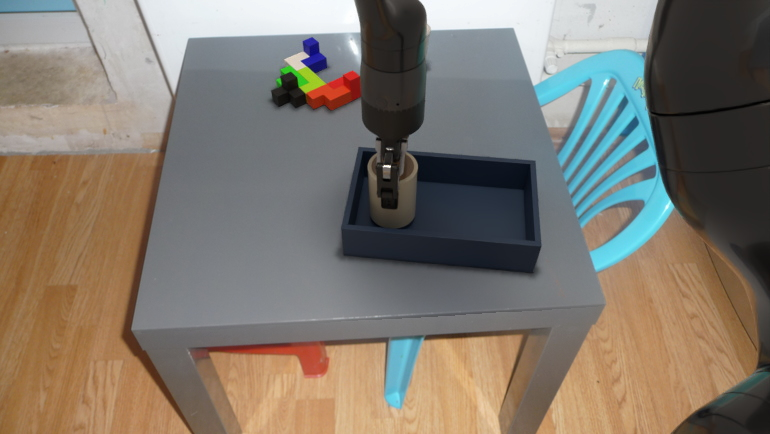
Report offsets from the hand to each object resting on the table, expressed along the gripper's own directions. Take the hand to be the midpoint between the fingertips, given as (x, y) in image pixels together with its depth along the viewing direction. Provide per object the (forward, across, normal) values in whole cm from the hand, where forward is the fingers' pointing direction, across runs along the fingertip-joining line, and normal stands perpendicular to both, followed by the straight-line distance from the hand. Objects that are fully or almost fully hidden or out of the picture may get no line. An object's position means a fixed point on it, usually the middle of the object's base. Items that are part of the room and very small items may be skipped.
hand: (392, 187), depth 80 cm
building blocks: (+6, +28, +18) cm, 34 cm away
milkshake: (+6, +36, 0) cm, 36 cm away
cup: (+5, 0, 0) cm, 5 cm away
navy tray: (+6, 0, -7) cm, 9 cm away
